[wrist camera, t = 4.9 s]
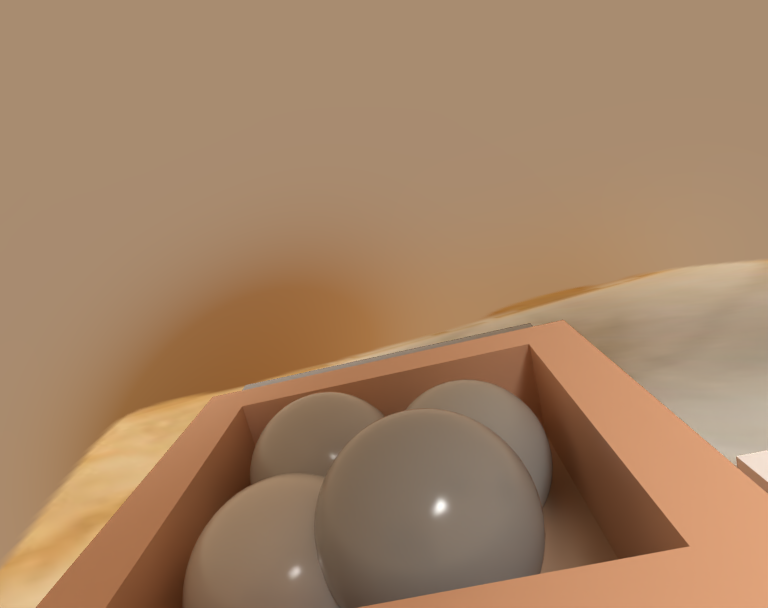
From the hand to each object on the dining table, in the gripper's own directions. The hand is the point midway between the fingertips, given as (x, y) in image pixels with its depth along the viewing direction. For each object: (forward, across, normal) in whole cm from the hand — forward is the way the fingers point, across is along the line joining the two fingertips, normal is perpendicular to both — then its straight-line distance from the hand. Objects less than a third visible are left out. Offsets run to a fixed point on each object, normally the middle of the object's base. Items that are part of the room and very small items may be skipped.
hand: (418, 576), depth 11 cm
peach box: (-2, 0, -6) cm, 6 cm away
